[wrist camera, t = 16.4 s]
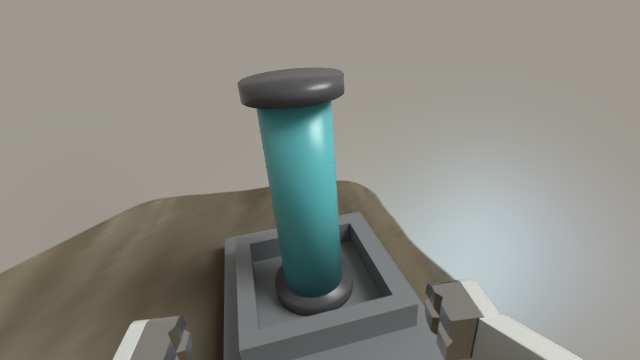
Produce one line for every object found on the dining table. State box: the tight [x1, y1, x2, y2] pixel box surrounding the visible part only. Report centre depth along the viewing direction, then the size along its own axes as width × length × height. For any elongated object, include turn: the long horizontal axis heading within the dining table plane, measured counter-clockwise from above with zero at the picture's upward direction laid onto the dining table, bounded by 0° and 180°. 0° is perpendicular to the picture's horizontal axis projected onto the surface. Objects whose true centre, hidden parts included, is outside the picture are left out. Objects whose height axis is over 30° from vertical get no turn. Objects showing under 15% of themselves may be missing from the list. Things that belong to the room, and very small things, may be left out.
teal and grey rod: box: [238, 68, 353, 317], centre depth 23 cm, size 6×6×16 cm
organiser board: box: [224, 212, 444, 360], centre depth 26 cm, size 18×14×4 cm
